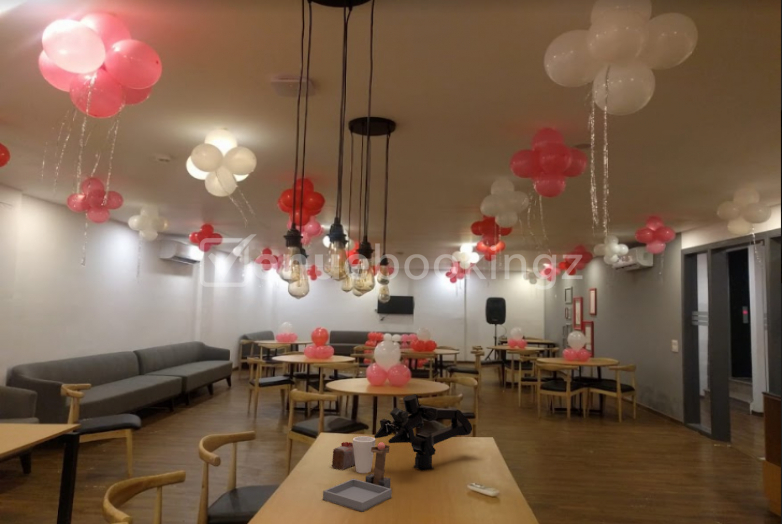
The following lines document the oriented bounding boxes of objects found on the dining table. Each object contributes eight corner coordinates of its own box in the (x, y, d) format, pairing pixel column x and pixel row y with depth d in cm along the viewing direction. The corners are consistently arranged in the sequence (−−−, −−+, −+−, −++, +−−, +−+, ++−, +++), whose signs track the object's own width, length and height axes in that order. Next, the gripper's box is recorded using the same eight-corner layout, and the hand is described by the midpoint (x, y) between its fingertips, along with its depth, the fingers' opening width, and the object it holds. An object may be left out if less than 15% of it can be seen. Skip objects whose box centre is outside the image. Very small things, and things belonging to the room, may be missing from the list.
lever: (375, 485, 204) (379, 443, 207) (385, 487, 201) (389, 445, 204) (367, 486, 200) (371, 444, 203) (377, 489, 197) (381, 446, 200)
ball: (382, 450, 205) (383, 442, 206) (386, 451, 203) (387, 443, 203) (375, 449, 204) (376, 441, 204) (379, 450, 201) (380, 442, 202)
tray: (353, 486, 203) (353, 478, 203) (391, 497, 193) (391, 489, 193) (322, 499, 189) (323, 490, 190) (362, 512, 179) (362, 502, 179)
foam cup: (371, 475, 217) (372, 442, 218) (349, 473, 219) (350, 441, 220) (376, 468, 226) (377, 437, 227) (355, 466, 228) (356, 435, 229)
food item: (347, 459, 238) (348, 437, 238) (362, 462, 234) (363, 439, 235) (330, 468, 226) (330, 444, 226) (345, 471, 222) (346, 447, 223)
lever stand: (371, 485, 205) (372, 473, 206) (390, 490, 200) (390, 478, 200) (365, 488, 202) (365, 476, 202) (384, 493, 197) (384, 481, 197)
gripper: (391, 401, 230) (363, 416, 220) (420, 408, 216) (391, 425, 206) (396, 425, 231) (369, 441, 222) (426, 434, 217) (398, 451, 207)
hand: (381, 439), depth 214 cm, fingers open, 9 cm apart
